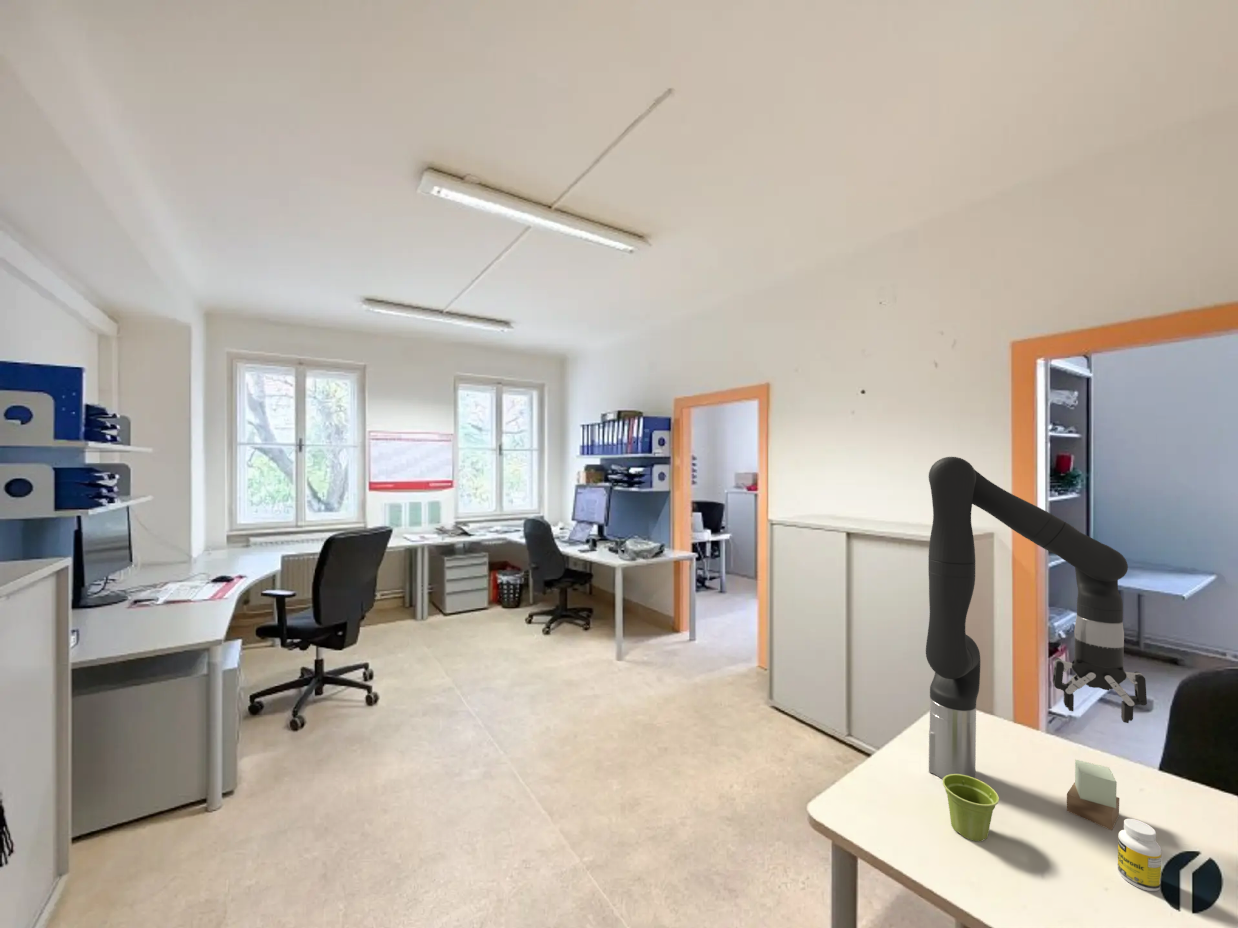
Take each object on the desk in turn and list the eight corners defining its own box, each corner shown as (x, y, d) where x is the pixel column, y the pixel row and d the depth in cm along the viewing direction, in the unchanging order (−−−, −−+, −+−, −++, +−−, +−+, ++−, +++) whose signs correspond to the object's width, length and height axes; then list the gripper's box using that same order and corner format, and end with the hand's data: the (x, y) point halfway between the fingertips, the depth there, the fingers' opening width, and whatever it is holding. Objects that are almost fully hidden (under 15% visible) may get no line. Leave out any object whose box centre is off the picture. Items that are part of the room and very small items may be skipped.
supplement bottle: (1108, 868, 94) (1110, 816, 93) (1135, 866, 94) (1137, 814, 94) (1141, 893, 88) (1142, 838, 88) (1169, 891, 89) (1171, 836, 88)
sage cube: (1080, 798, 107) (1080, 772, 107) (1074, 783, 111) (1075, 759, 111) (1116, 808, 104) (1116, 781, 104) (1109, 792, 108) (1109, 767, 108)
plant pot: (988, 819, 106) (988, 778, 106) (1006, 853, 97) (1006, 809, 97) (936, 809, 109) (937, 769, 109) (949, 841, 100) (949, 798, 100)
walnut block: (1066, 811, 108) (1066, 793, 108) (1075, 798, 113) (1075, 780, 113) (1111, 831, 103) (1112, 812, 103) (1119, 816, 107) (1119, 797, 107)
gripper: (1057, 638, 108) (1056, 713, 108) (1152, 652, 100) (1150, 733, 100) (1051, 627, 114) (1050, 698, 115) (1140, 640, 106) (1138, 716, 107)
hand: (1097, 715), depth 108 cm, fingers open, 8 cm apart
